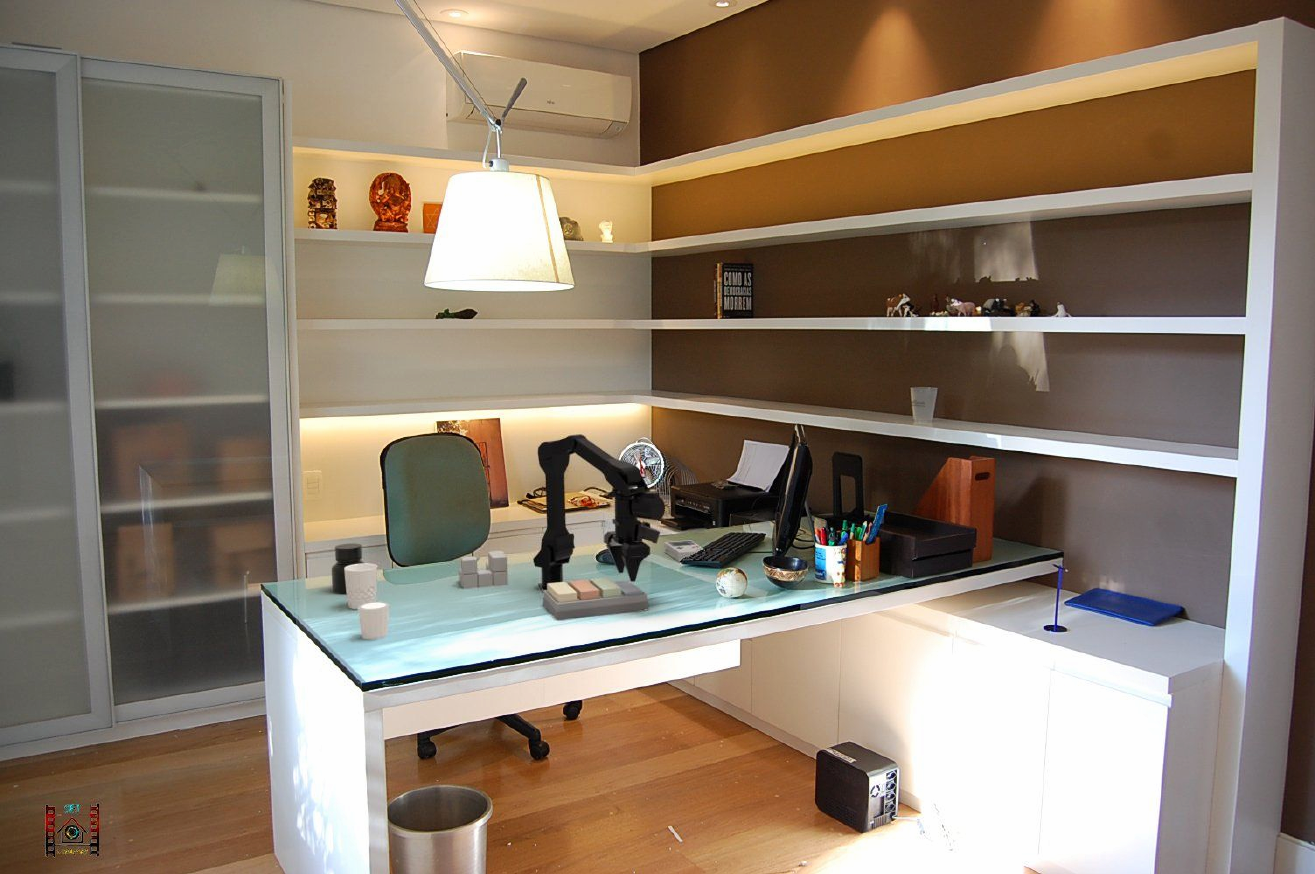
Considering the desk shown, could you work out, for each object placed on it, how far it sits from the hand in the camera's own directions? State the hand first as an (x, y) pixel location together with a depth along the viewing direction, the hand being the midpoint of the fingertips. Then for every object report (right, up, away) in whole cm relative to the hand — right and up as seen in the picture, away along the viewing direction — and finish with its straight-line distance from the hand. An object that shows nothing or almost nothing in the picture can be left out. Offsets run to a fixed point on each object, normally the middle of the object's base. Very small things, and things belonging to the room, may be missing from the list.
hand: (626, 577), depth 240 cm
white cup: (-67, -8, +1) cm, 67 cm away
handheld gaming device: (+16, -2, +52) cm, 55 cm away
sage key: (-5, -4, -2) cm, 7 cm away
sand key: (-16, -4, -5) cm, 17 cm away
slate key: (0, -5, +1) cm, 5 cm away
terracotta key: (-11, -4, -4) cm, 12 cm away
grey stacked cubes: (-41, -5, +24) cm, 48 cm away
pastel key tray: (-8, -7, -2) cm, 11 cm away
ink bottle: (-75, -6, +16) cm, 77 cm away
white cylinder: (-57, -10, -23) cm, 62 cm away
